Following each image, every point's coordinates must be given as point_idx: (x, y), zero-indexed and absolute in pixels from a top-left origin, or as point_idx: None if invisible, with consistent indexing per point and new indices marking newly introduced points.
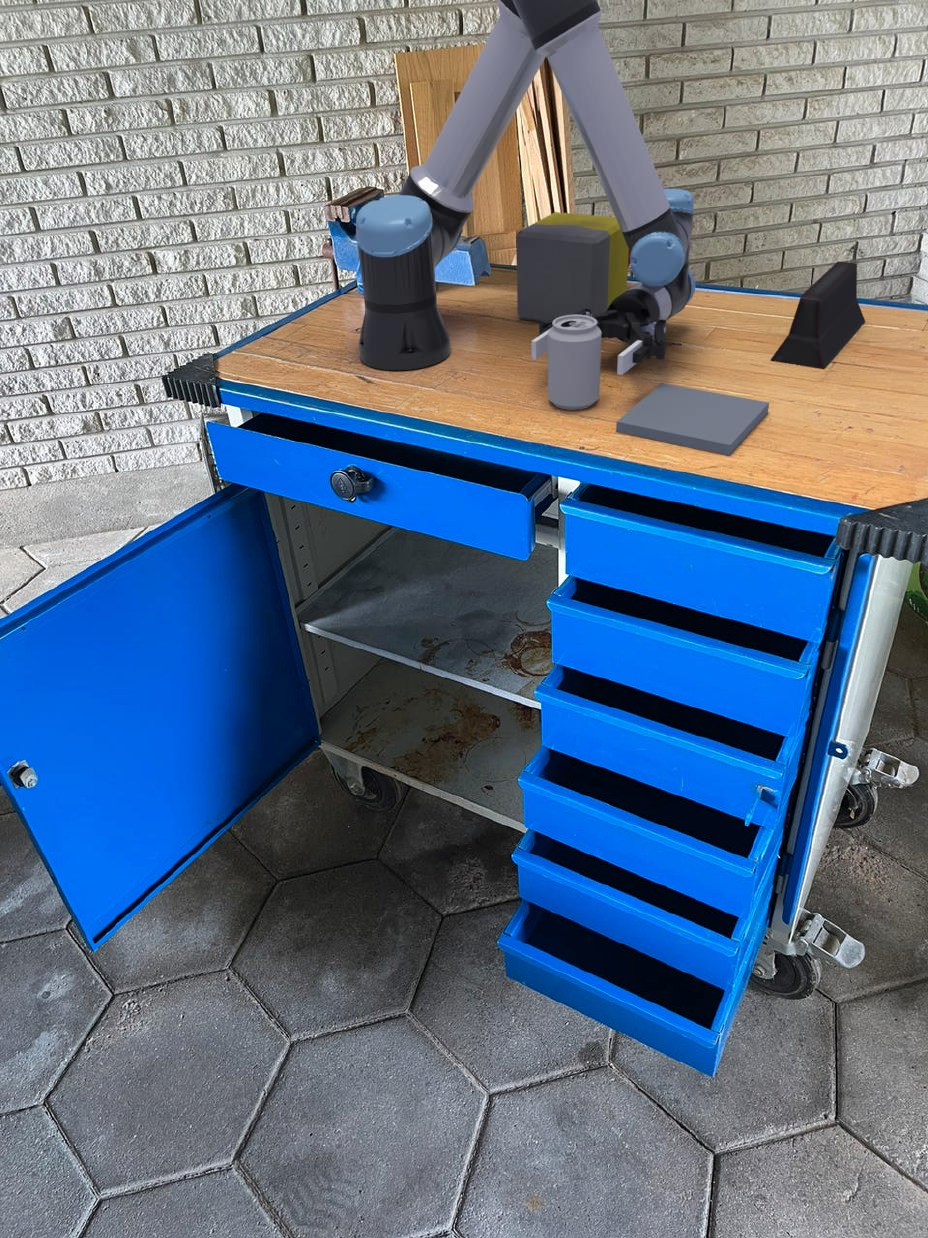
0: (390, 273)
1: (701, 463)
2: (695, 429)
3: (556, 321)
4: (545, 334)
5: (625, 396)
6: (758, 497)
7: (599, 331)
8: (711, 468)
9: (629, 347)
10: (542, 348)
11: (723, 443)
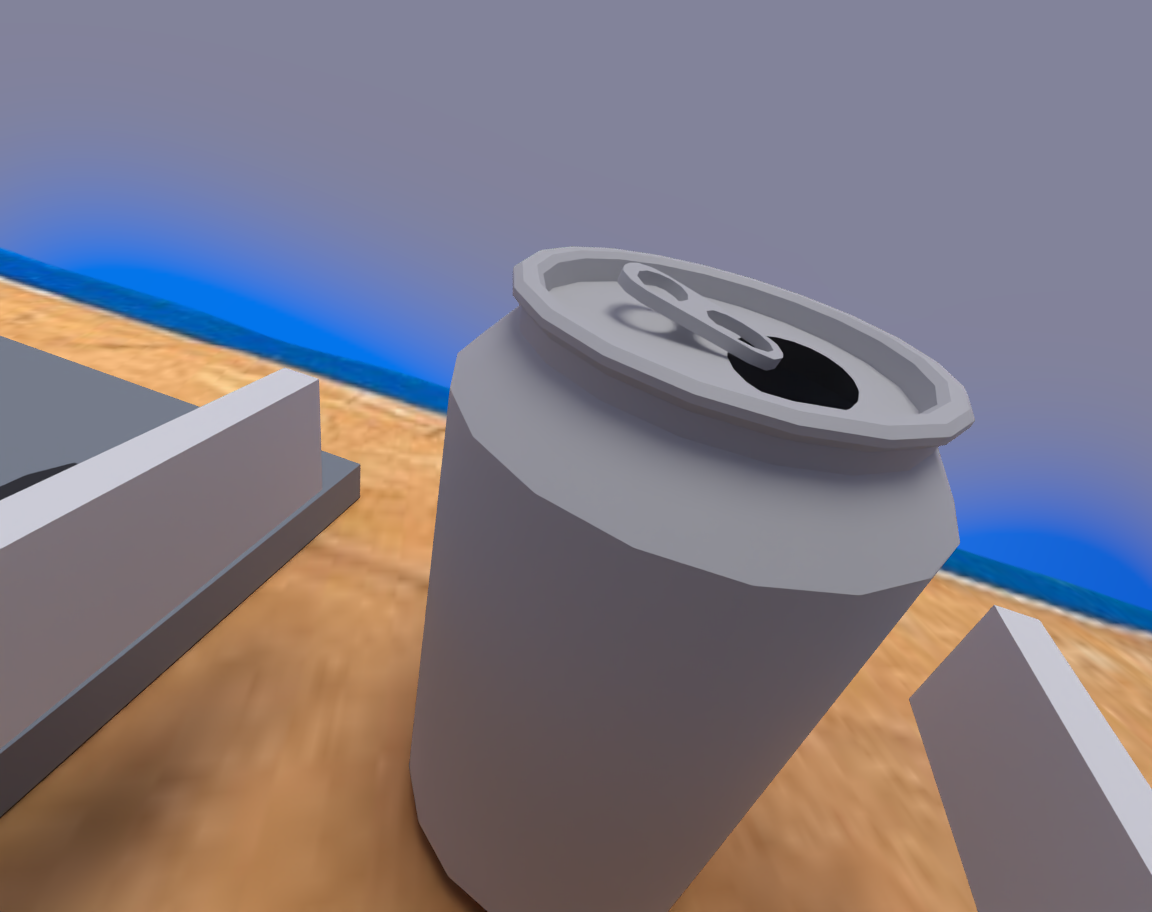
0: None
1: (138, 359)
2: (48, 402)
3: (912, 376)
4: (1115, 794)
5: (185, 900)
6: (85, 280)
7: (473, 355)
8: (123, 344)
9: (151, 460)
10: (976, 759)
11: (12, 341)
